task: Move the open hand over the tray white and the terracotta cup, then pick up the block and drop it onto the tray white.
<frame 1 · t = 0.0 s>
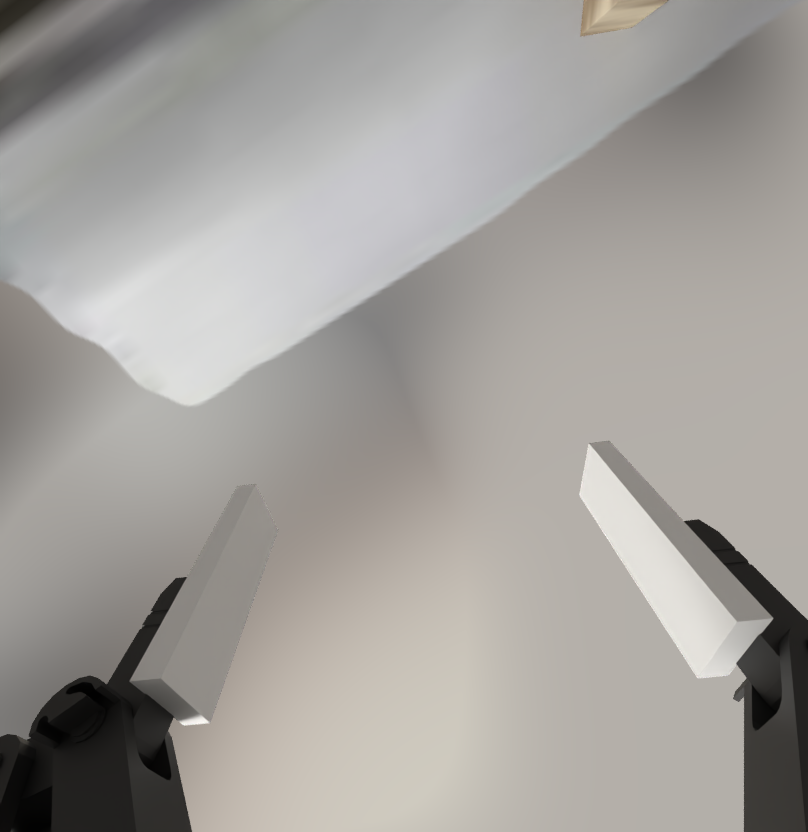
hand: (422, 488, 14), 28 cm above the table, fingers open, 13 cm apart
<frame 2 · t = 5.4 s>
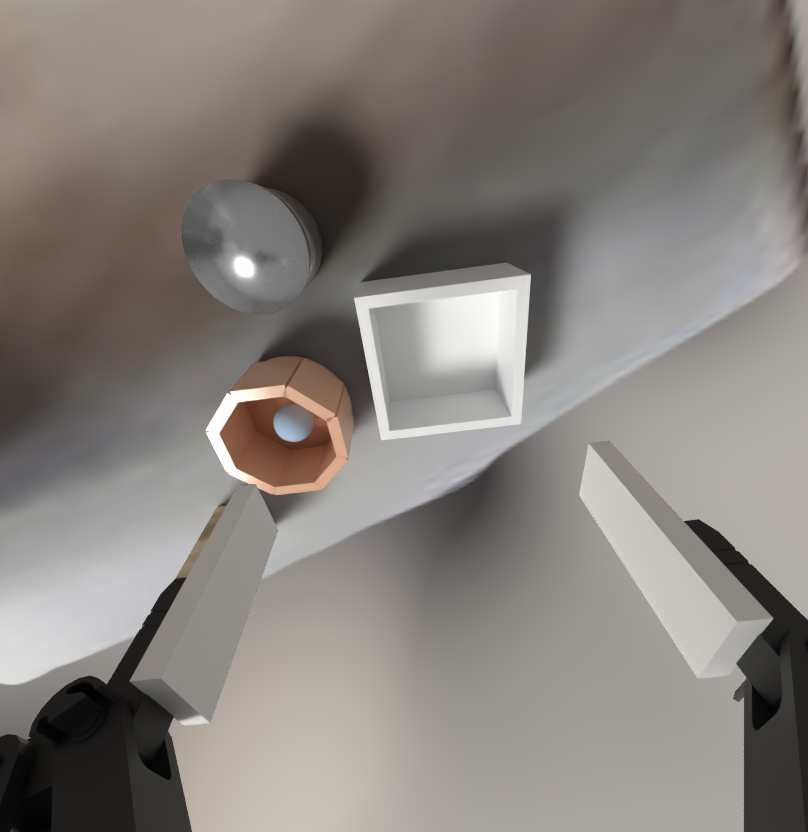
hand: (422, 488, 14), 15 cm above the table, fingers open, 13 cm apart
tin: (275, 243, 22), on the table
tray white: (437, 341, 26), on the table
ball: (295, 411, 28), point 1 cm above the table, tilted 10°, touching terracotta cup
block: (244, 518, 35), on the table
terracotta cup: (297, 406, 29), on the table, touching ball
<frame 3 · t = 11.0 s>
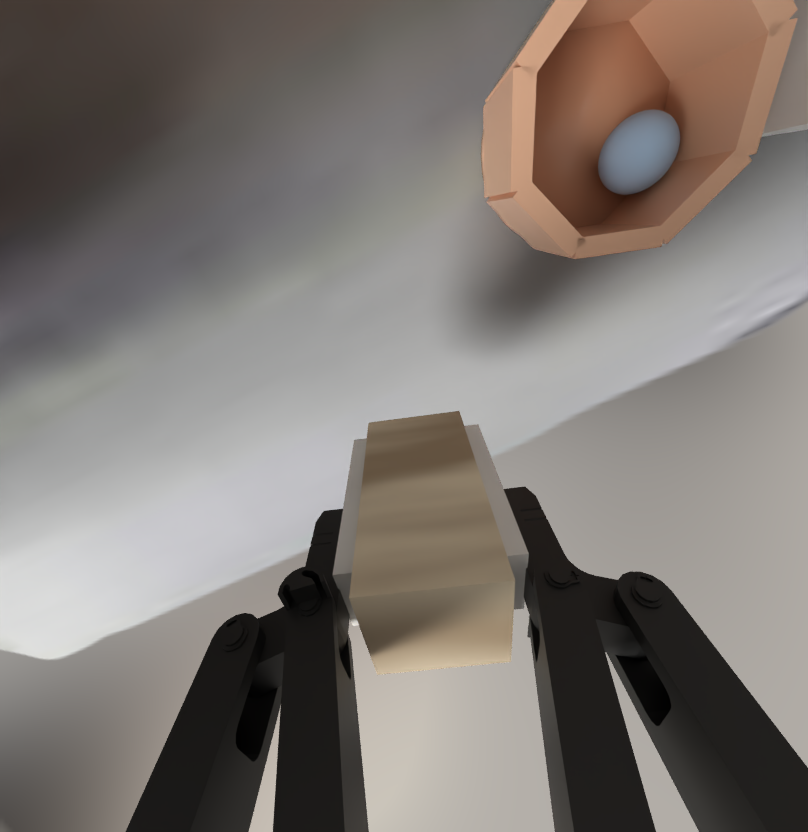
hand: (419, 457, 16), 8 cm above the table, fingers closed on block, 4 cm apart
ball: (609, 136, 15), point 2 cm above the table, tilted 83°, touching terracotta cup
block: (418, 453, 16), point 8 cm above the table, touching gripper
terracotta cup: (572, 142, 17), on the table, touching ball
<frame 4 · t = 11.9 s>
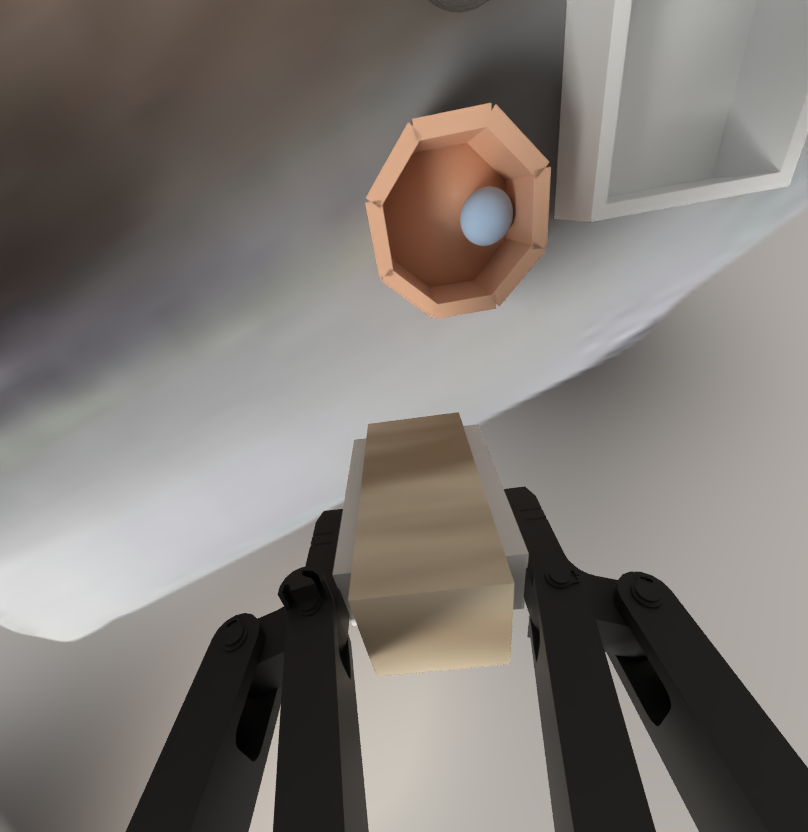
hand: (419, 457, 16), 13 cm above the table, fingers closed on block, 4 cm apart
tray white: (647, 102, 20), on the table
ball: (462, 208, 20), point 2 cm above the table, tilted 69°, touching terracotta cup
block: (418, 454, 16), point 12 cm above the table, touching gripper
terracotta cup: (444, 221, 22), on the table, touching ball
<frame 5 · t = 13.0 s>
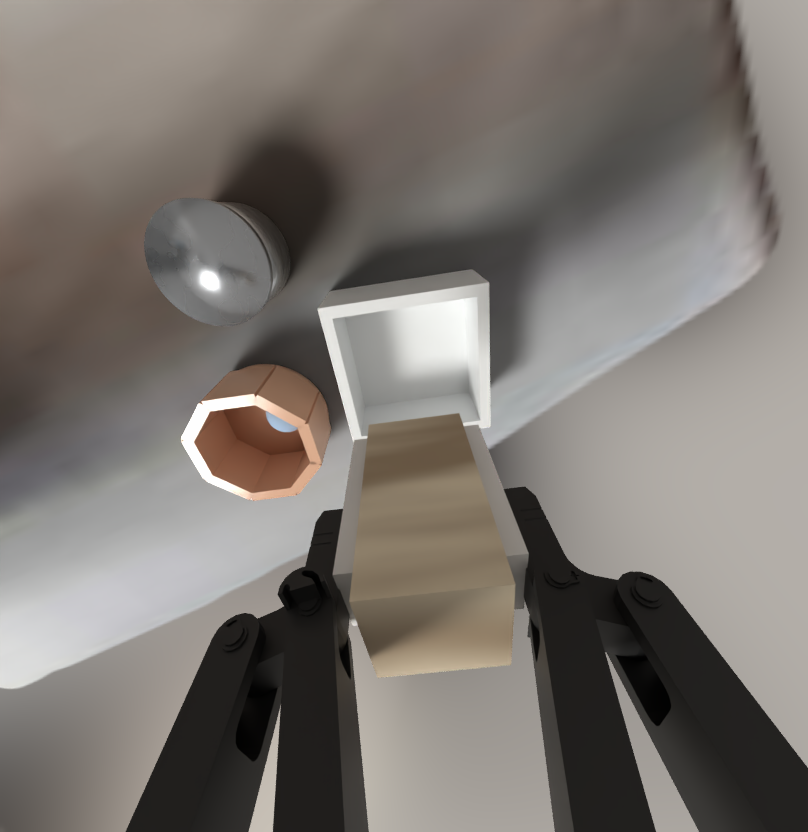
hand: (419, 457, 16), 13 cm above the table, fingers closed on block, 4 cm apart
tin: (244, 255, 23), on the table
tray white: (409, 347, 27), on the table
ball: (275, 407, 27), point 1 cm above the table, tilted 50°, touching terracotta cup
block: (418, 454, 16), point 12 cm above the table, touching gripper
terracotta cup: (275, 412, 29), on the table, touching ball
when the fingers open (6 cm above the table, at t = 14.5 s): block drops 5 cm, resting on tray white.
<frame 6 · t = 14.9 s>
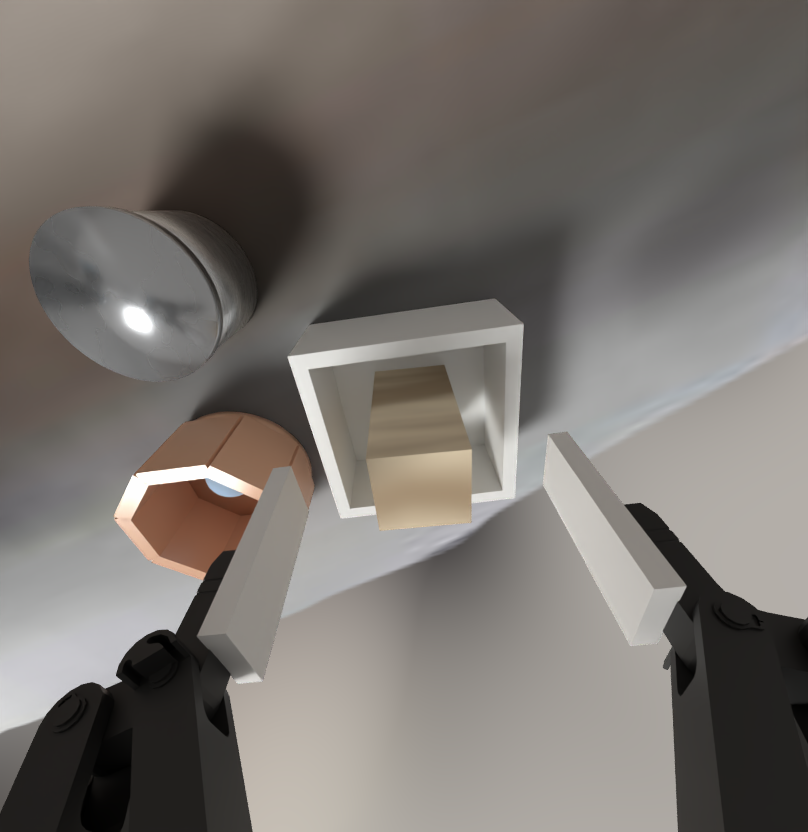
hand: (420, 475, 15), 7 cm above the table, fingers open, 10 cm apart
tin: (195, 279, 17), on the table
tray white: (411, 391, 21), on the table, touching block
ball: (242, 457, 22), point 1 cm above the table, touching terracotta cup
block: (412, 398, 21), resting on tray white
terracotta cup: (246, 466, 24), on the table, touching ball
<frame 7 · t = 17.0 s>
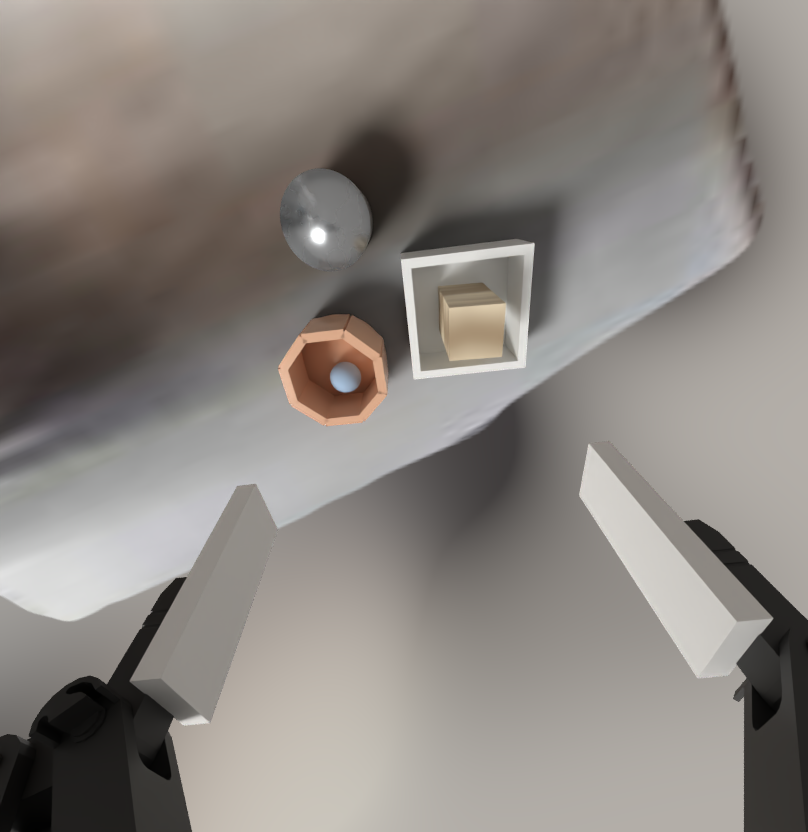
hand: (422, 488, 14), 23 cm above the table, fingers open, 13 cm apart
tin: (337, 221, 29), on the table
tray white: (459, 303, 33), on the table, touching block
ball: (343, 363, 33), point 2 cm above the table, tilted 95°, touching terracotta cup
block: (460, 306, 32), resting on tray white
terracotta cup: (342, 358, 35), on the table, touching ball
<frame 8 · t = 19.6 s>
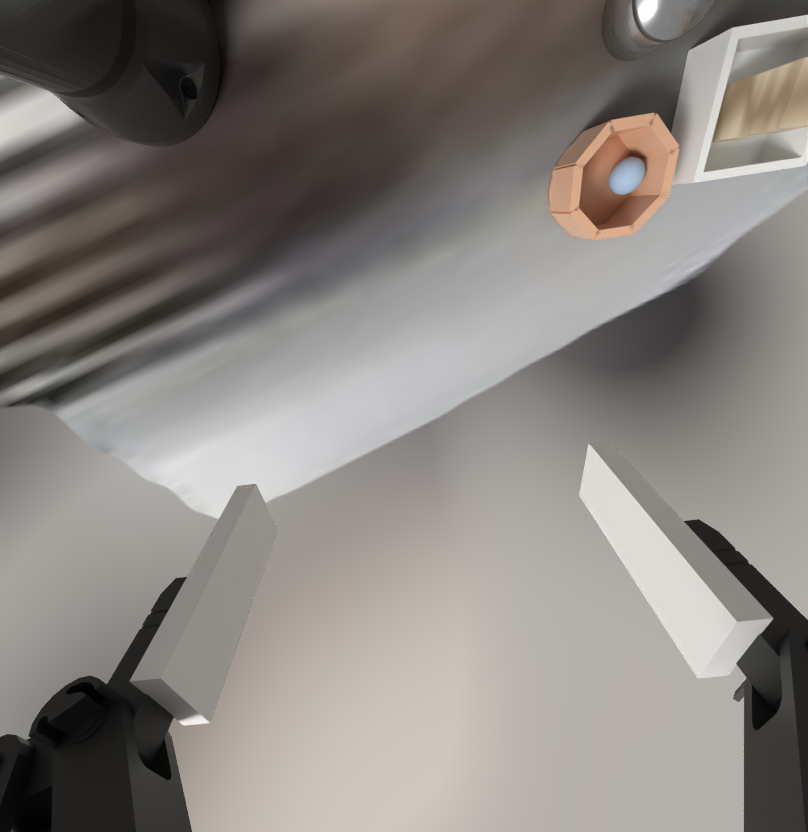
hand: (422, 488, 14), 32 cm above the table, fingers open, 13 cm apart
tin: (638, 11, 29), on the table
tray white: (723, 115, 33), on the table, touching block
ball: (620, 168, 34), point 1 cm above the table, tilted 29°, touching terracotta cup
block: (729, 115, 33), resting on tray white
terracotta cup: (592, 184, 36), on the table, touching ball
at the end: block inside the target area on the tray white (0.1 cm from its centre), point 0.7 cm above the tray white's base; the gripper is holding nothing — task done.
